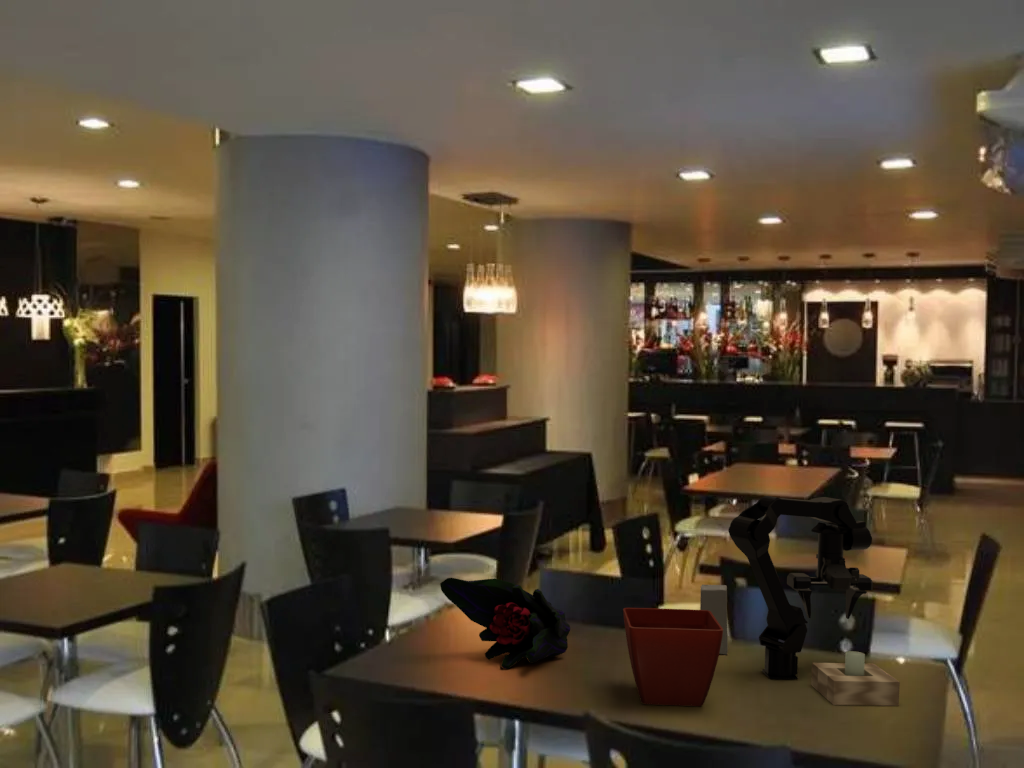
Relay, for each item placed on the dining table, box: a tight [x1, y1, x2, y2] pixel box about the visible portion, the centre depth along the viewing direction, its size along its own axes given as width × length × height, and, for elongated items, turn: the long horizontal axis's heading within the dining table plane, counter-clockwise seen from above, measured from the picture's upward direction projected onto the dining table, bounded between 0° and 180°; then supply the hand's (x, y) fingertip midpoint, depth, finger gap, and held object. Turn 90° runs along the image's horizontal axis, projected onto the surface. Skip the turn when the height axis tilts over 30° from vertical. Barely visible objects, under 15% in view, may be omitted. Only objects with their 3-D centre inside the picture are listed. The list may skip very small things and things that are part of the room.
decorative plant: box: [439, 577, 571, 670], centre depth 254 cm, size 21×26×30 cm
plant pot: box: [622, 607, 723, 707], centre depth 231 cm, size 19×19×17 cm
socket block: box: [810, 662, 901, 707], centre depth 237 cm, size 14×14×5 cm
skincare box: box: [699, 584, 729, 655], centre depth 271 cm, size 8×7×16 cm
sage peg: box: [844, 650, 866, 676], centre depth 237 cm, size 4×4×9 cm
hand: (828, 618), depth 257 cm, fingers open, 9 cm apart
